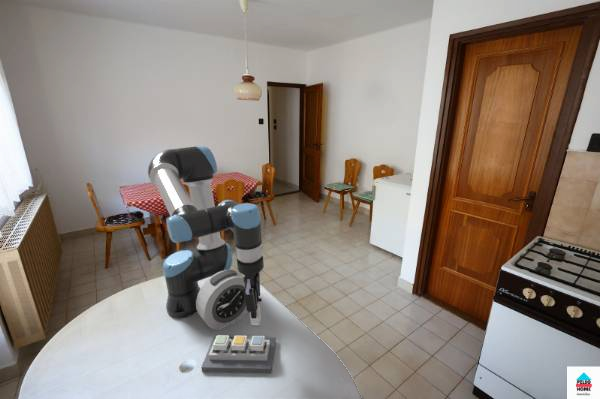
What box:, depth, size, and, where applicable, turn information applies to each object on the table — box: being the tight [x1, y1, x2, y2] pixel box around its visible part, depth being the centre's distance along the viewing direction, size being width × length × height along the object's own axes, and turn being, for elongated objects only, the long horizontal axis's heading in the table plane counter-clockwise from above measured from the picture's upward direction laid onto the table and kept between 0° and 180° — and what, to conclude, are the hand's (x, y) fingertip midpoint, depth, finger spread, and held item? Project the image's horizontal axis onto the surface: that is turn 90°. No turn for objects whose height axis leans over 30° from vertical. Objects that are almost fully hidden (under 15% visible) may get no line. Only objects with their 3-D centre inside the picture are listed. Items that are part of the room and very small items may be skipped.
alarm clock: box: [196, 269, 249, 331], centre depth 108 cm, size 21×8×20 cm, turn 132°
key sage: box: [213, 334, 230, 350], centre depth 92 cm, size 4×4×2 cm
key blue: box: [250, 335, 266, 351], centre depth 91 cm, size 4×4×2 cm
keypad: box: [201, 336, 277, 374], centre depth 93 cm, size 22×12×4 cm, turn 88°
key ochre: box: [232, 335, 248, 350], centre depth 92 cm, size 4×4×2 cm
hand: (255, 321), depth 88 cm, fingers closed
